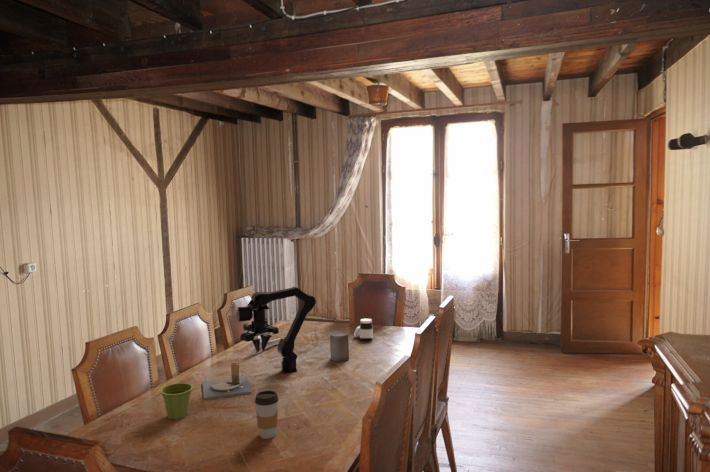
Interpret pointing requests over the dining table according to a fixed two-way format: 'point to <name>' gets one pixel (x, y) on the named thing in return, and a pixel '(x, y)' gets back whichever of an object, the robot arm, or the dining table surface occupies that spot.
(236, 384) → the dial
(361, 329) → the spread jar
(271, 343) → the wrench
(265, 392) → the coffee cup
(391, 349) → the dining table surface
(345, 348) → the pillar candle
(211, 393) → the dial board
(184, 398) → the plant pot
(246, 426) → the dining table surface
